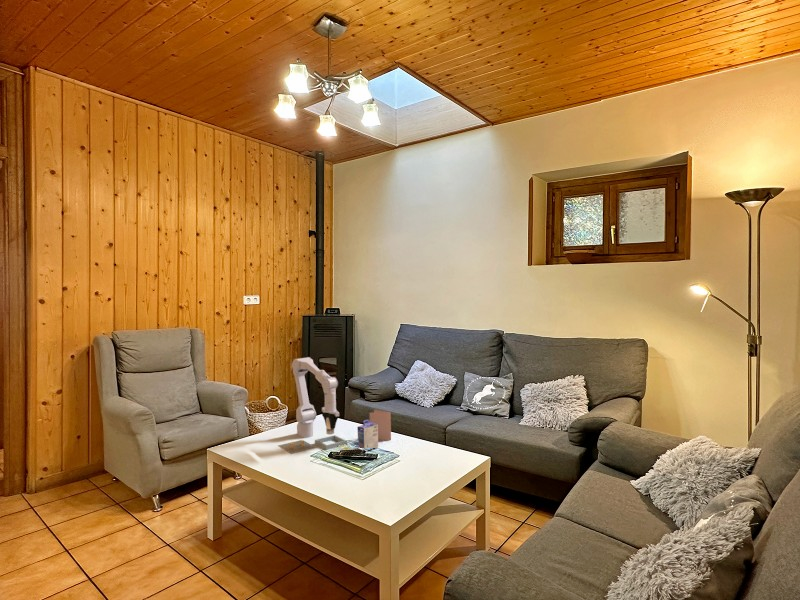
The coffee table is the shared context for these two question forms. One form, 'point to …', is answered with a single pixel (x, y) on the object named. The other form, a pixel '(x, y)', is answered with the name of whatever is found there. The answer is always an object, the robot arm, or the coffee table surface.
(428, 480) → the coffee table surface
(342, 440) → the parts tray
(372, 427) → the ink cartridge box
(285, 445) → the flat gray square panel
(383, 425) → the greeting card
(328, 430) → the led light bulb
